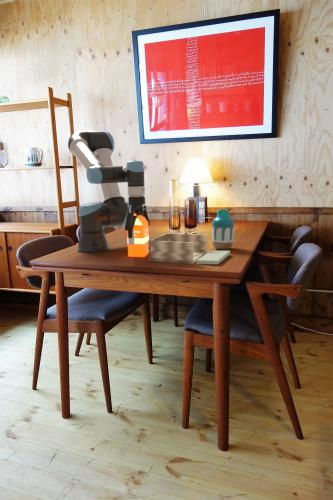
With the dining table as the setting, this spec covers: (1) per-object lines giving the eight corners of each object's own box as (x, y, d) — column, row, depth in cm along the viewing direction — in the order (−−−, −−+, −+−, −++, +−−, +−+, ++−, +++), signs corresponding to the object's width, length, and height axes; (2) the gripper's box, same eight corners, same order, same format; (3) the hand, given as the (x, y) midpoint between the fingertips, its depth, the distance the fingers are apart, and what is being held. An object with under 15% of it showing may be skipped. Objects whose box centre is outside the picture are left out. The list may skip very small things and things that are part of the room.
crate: (148, 261, 166) (148, 240, 164) (167, 251, 184) (166, 232, 182) (192, 264, 158) (192, 243, 156) (207, 254, 176) (207, 234, 174)
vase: (208, 248, 188) (207, 209, 184) (227, 246, 192) (227, 208, 188) (218, 252, 179) (218, 211, 175) (238, 250, 182) (238, 210, 178)
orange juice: (127, 256, 176) (125, 212, 172) (134, 252, 184) (132, 210, 180) (144, 257, 174) (142, 213, 170) (149, 252, 182) (148, 210, 178)
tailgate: (196, 260, 158) (217, 260, 154) (210, 250, 175) (230, 250, 171) (196, 263, 158) (218, 264, 154) (210, 253, 175) (230, 254, 171)
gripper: (130, 198, 161) (132, 247, 165) (155, 194, 183) (157, 237, 187) (115, 198, 164) (117, 247, 168) (141, 194, 186) (143, 237, 190)
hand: (138, 242), depth 178 cm, fingers open, 13 cm apart
